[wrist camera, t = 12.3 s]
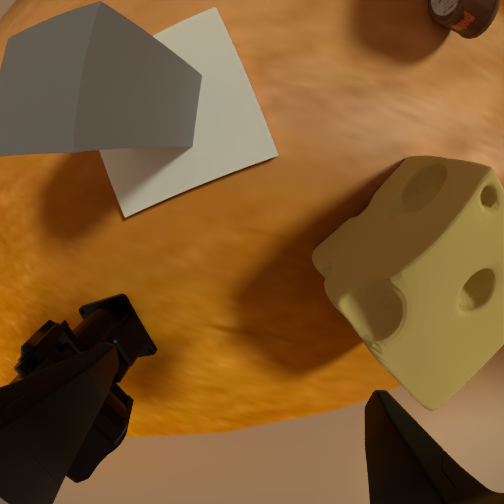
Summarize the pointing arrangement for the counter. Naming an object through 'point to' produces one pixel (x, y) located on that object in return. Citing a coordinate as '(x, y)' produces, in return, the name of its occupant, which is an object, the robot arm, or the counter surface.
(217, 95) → the tile
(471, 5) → the tin
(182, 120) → the block
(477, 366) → the cheese
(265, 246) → the counter surface
